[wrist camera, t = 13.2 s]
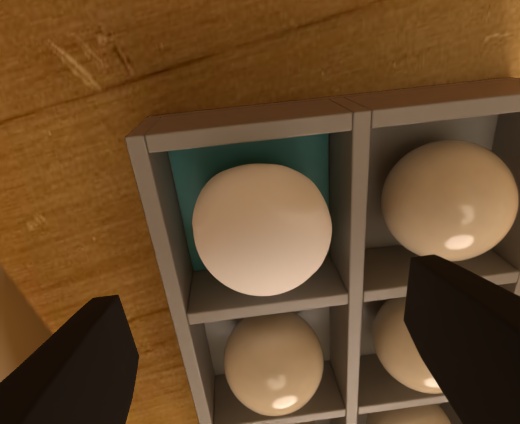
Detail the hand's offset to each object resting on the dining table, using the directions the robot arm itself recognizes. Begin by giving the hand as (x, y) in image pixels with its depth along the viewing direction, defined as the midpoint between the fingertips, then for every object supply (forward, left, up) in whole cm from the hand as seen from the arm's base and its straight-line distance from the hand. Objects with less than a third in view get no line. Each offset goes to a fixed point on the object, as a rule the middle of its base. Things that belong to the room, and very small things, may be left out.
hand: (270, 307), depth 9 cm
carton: (+4, -7, -8) cm, 11 cm away
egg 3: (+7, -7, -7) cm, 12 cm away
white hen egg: (0, 0, -7) cm, 7 cm away
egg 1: (0, -7, -7) cm, 10 cm away
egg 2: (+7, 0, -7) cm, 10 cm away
